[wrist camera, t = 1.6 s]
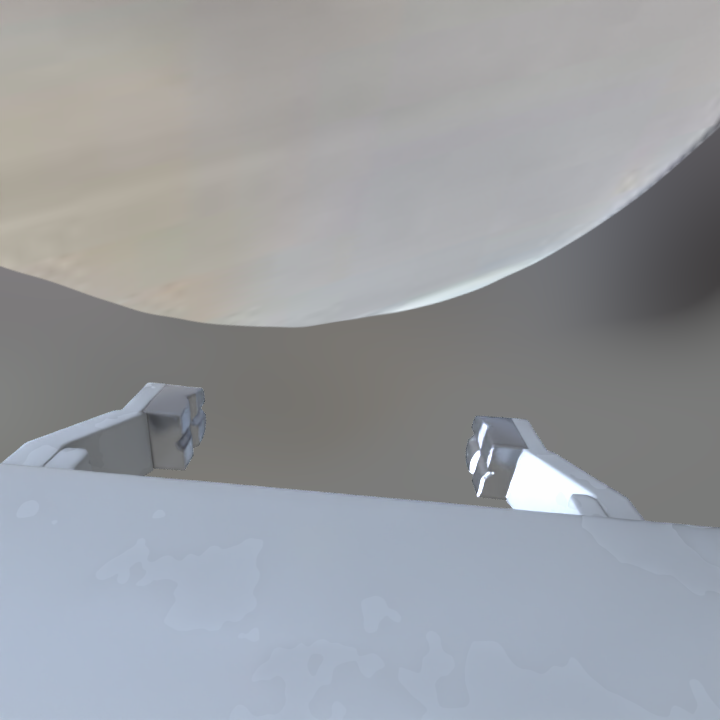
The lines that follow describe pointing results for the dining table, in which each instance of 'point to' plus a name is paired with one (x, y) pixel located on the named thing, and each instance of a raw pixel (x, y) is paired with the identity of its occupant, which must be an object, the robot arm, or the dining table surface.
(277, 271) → the dining table surface
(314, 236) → the dining table surface
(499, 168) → the dining table surface
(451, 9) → the dining table surface
